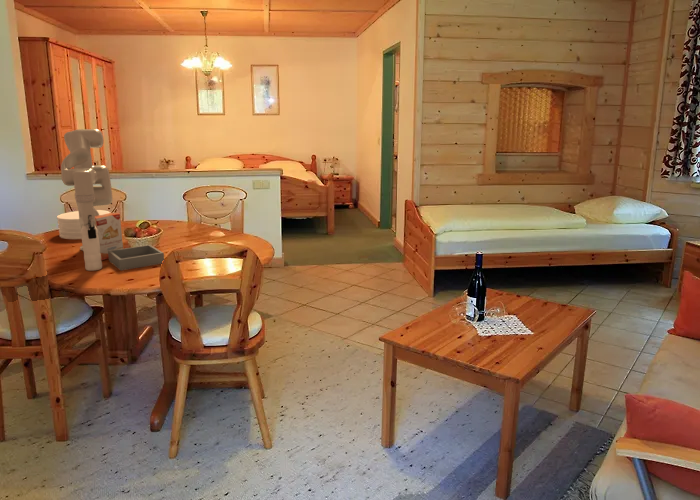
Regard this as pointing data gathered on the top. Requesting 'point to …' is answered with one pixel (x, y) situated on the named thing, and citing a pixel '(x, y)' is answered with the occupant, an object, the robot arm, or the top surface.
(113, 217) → the cracker box
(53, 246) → the top surface
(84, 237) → the water bottle
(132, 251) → the tray
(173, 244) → the top surface
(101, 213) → the plate stack
